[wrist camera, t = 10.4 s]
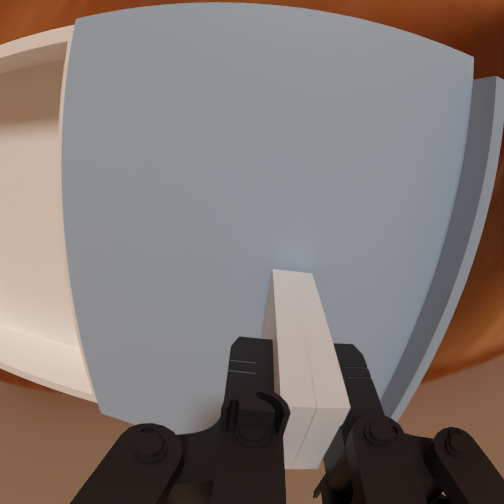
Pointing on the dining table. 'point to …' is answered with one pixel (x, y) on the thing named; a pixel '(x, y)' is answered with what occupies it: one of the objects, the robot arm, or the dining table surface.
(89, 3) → the dining table surface
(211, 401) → the lid
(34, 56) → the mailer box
